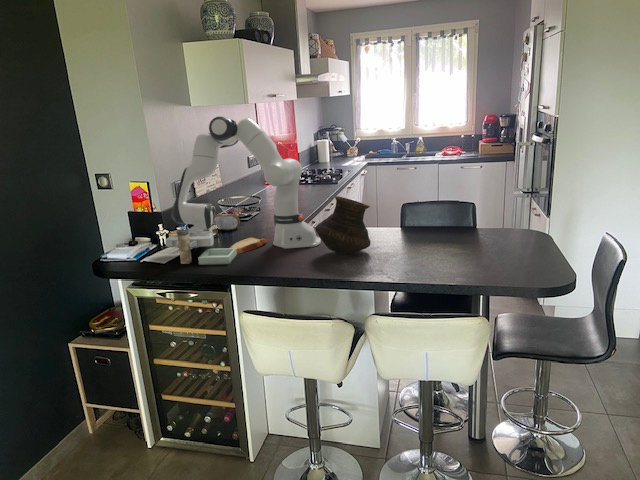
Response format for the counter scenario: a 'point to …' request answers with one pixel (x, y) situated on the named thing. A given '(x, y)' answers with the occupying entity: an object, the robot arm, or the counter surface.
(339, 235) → the ceramic pot
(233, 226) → the tin
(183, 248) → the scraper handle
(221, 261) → the box
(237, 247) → the slice of bread
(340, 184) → the counter surface
